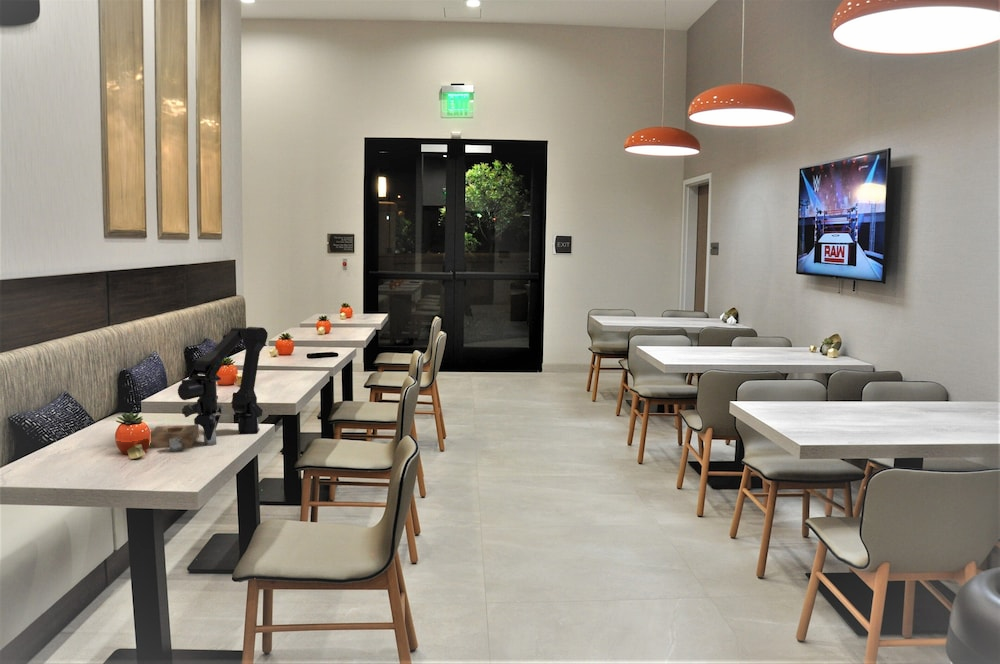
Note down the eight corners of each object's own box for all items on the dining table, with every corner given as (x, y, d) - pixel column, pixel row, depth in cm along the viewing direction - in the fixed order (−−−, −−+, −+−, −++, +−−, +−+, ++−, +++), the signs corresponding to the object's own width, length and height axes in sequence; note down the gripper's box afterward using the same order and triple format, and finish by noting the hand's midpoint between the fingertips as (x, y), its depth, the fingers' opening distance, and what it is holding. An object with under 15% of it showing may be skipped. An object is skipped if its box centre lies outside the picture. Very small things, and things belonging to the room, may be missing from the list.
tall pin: (217, 442, 270) (216, 420, 269) (215, 445, 266) (214, 422, 265) (205, 442, 269) (204, 420, 268) (203, 446, 265) (202, 423, 264)
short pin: (183, 448, 262) (183, 437, 262) (180, 451, 258) (180, 440, 258) (171, 449, 262) (170, 437, 261) (168, 452, 258) (167, 440, 257)
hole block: (199, 436, 277) (198, 424, 277) (191, 445, 266) (191, 433, 265) (158, 438, 275) (157, 426, 274) (148, 447, 263) (148, 435, 263)
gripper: (189, 390, 273) (191, 432, 275) (176, 401, 255) (179, 446, 257) (222, 389, 275) (224, 431, 277) (212, 399, 257) (214, 445, 259)
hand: (210, 438), depth 267 cm, fingers closed on tall pin, 4 cm apart
